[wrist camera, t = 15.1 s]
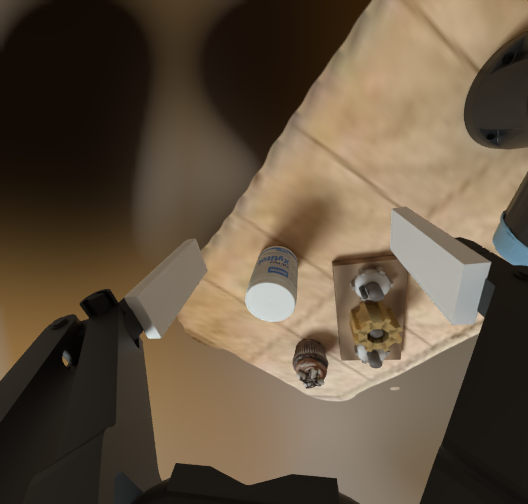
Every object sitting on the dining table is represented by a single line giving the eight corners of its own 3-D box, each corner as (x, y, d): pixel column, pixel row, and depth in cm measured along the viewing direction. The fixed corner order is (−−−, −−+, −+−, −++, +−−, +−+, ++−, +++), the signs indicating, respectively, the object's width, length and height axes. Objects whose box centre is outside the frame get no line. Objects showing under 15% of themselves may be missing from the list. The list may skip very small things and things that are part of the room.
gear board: (404, 253, 47) (420, 271, 41) (397, 353, 60) (408, 377, 54) (332, 261, 50) (336, 279, 44) (340, 354, 64) (344, 377, 57)
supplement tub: (290, 239, 49) (287, 275, 36) (303, 273, 53) (304, 317, 40) (251, 251, 52) (235, 288, 39) (265, 282, 56) (256, 326, 43)
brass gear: (393, 299, 50) (404, 318, 45) (391, 330, 55) (401, 351, 49) (347, 302, 53) (353, 320, 47) (349, 332, 57) (354, 352, 51)
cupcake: (333, 352, 64) (338, 387, 55) (305, 363, 68) (306, 397, 59) (313, 332, 61) (316, 365, 52) (286, 345, 65) (284, 377, 56)
